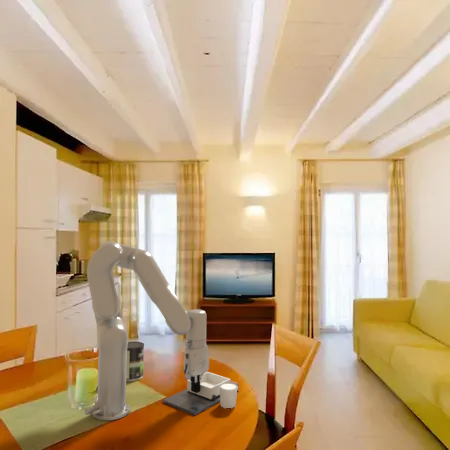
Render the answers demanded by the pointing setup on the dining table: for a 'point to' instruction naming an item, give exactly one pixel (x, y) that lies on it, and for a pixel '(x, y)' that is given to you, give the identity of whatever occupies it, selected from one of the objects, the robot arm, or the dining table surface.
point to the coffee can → (134, 361)
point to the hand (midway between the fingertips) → (195, 391)
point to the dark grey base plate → (192, 401)
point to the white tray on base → (209, 385)
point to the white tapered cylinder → (228, 395)
